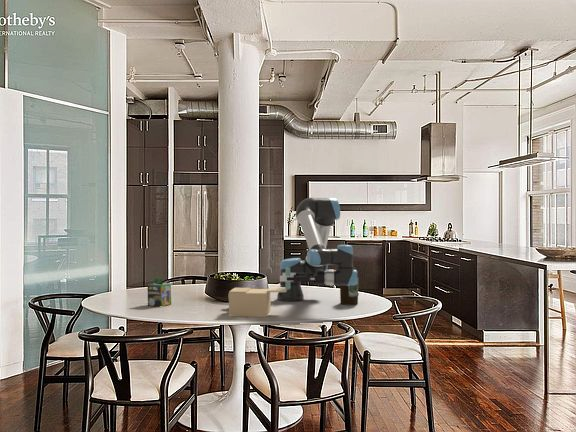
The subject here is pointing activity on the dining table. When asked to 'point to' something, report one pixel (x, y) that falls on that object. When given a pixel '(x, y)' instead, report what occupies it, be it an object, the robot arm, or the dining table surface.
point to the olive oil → (349, 293)
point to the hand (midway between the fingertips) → (281, 276)
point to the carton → (249, 302)
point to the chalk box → (159, 293)
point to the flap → (281, 289)
